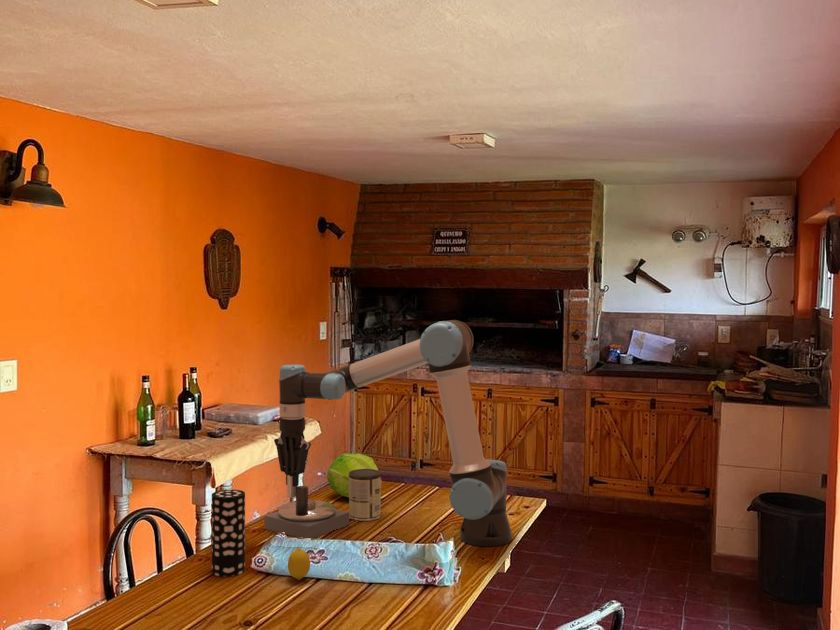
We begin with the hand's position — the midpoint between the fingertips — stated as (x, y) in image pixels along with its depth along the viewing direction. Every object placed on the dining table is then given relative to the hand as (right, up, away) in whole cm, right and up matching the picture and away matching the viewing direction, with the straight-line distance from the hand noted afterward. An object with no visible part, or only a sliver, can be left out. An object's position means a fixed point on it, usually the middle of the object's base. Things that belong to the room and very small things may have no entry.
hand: (292, 496), depth 238 cm
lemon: (+8, -13, -37) cm, 40 cm away
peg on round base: (+4, -6, +6) cm, 9 cm away
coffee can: (+20, -10, +17) cm, 29 cm away
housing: (+4, -11, +6) cm, 12 cm away
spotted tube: (-11, -12, -31) cm, 36 cm away
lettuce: (+16, -9, +39) cm, 43 cm away
